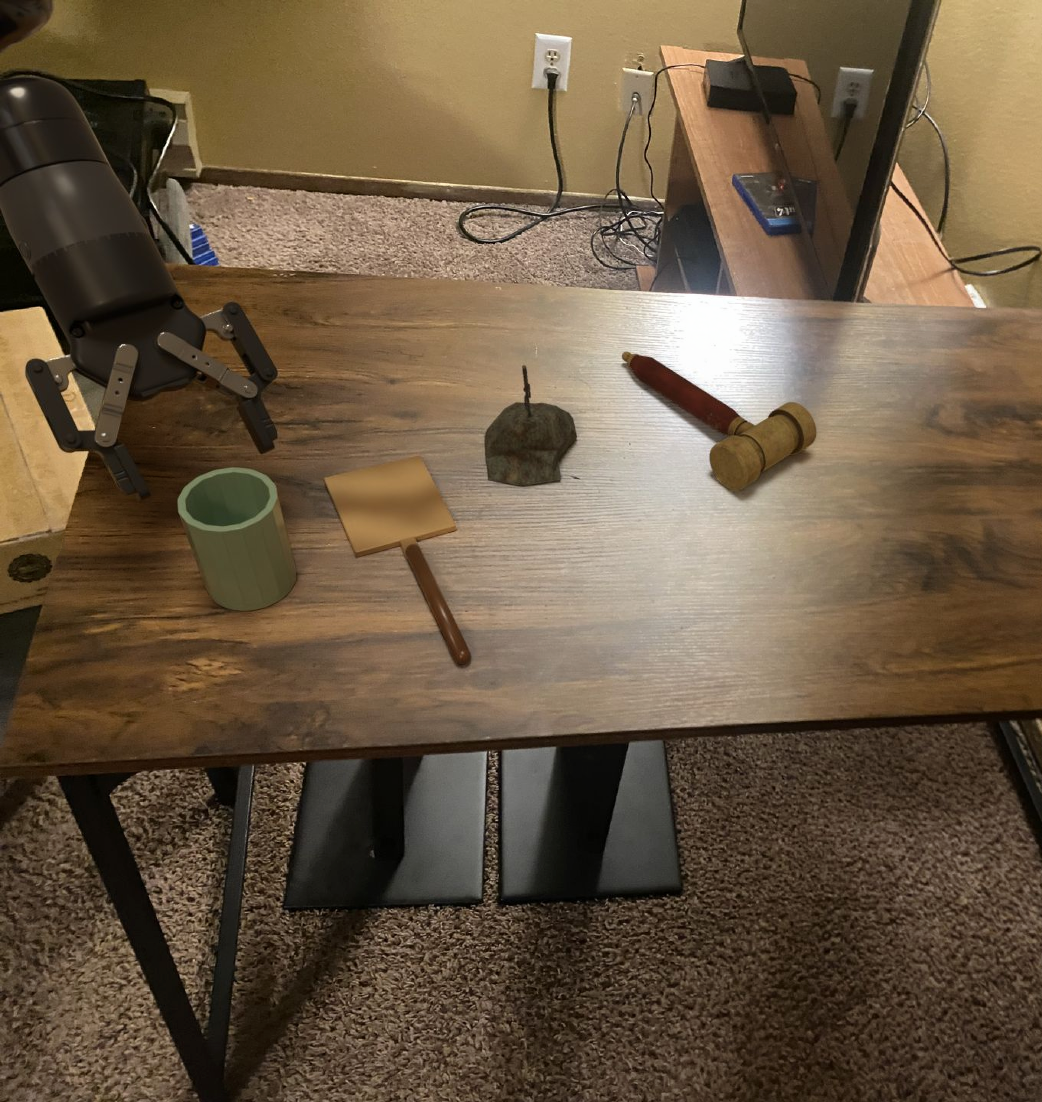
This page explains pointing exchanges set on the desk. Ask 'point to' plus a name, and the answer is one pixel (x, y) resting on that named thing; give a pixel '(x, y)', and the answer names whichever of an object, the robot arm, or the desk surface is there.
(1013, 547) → the desk surface
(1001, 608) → the desk surface
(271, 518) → the pot
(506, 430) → the sword in stone
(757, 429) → the gavel
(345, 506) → the spatula
